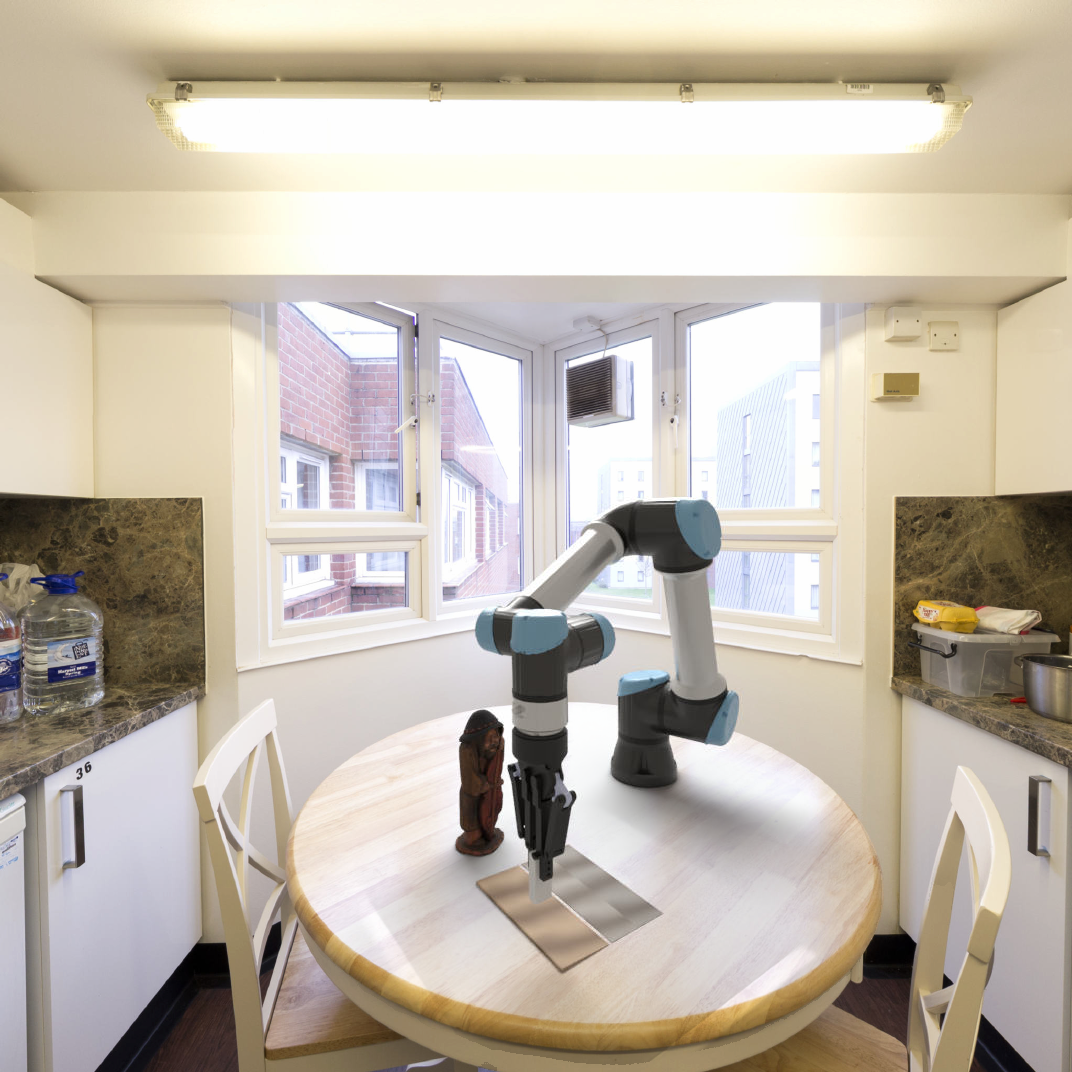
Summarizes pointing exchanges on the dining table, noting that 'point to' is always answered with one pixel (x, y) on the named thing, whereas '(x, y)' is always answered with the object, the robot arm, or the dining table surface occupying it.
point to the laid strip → (598, 895)
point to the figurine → (481, 784)
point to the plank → (542, 919)
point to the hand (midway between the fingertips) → (540, 898)
